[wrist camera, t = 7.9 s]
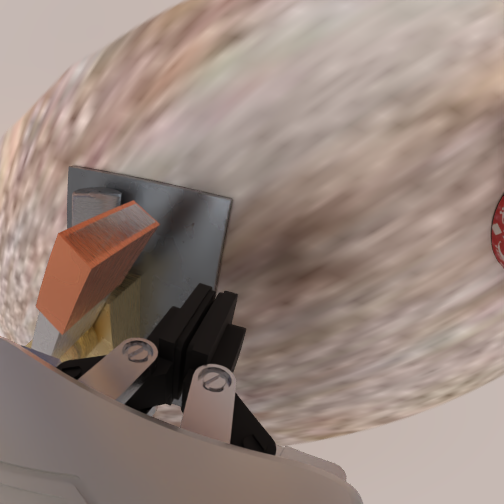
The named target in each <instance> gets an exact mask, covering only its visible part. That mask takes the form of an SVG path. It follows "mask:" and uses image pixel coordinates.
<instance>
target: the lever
mask: <svg viewBox="0 0 504 504" xmlns="http://www.w3.org/2000/svg"><path fill="white" fill-rule="evenodd" d="M159 225H160V224H159V223H158V222H157V221H156V220H155V219H154V218H153V217H151V216H150V215H149V214H148V213H147V212H146V211H145V210H144V209H143V208H142V207H140V206H139V205H138V204H137V203H136V202H135V201H134V200H133V201H130V202H128V203H126V204H123V205H121V206H118V207H116V208H114V209H111V210H109V211H107V212H104V213H102V214H100V215H97V216H95V217H93V218H91V219H88V220H86V221H84V222H82V223H80V224H77V225H75V226H73V227H71V228H69V229H67V230H65V231H63V232H60V233H58V235H57V238H56V241H55V244H54V247H53V249H52V252H51V255H50V258H49V262H48V265H47V268H46V271H45V274H44V278H43V281H42V285H41V288H40V292H39V296H38V300H37V304H36V307H37V308H38V310H39V311H40V312H39V316H38V320H37V324H36V328H35V332H34V337H33V340H31V341H30V342H29V343H28V344H27V345H26V347H28V348H31V349H33V350H36V351H39V352H41V353H44V354H47V355H50V356H53V357H56V358H59V359H60V360H61V362H64V361H68V360H74V359H81V358H86V357H87V356H88V355H89V354H90V353H91V351H92V350H93V349H94V348H95V347H96V346H97V343H98V340H97V335H96V332H95V330H94V328H93V327H92V325H93V324H94V322H95V320H96V318H97V316H98V315H99V313H100V311H101V309H102V307H103V306H104V304H105V302H106V300H107V299H108V297H109V295H110V293H111V292H112V291H113V290H114V289H115V288H116V287H118V286H119V285H120V284H121V283H122V282H123V280H124V278H125V277H126V275H127V274H128V272H129V270H130V269H131V267H132V266H133V264H134V263H135V261H136V260H137V258H138V256H139V255H140V253H141V252H142V250H143V249H144V247H145V246H146V244H147V243H148V241H149V240H150V238H151V237H152V235H153V234H154V232H155V231H156V230H157V228H158V227H159Z"/></svg>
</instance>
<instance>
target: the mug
mask: <svg viewBox="0 0 504 504" xmlns="http://www.w3.org/2000/svg"><path fill="white" fill-rule="evenodd" d="M492 247H493V251H494V254H495V256H496V258H497V260H498V262H499V263H500V264H501V265H502V266H503V268H504V196H503V197H502V199H501V201H500V202H499V204H498V207H497V209H496V212H495V215H494V220H493V225H492Z"/></svg>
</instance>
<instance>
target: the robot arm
mask: <svg viewBox="0 0 504 504" xmlns="http://www.w3.org/2000/svg"><path fill="white" fill-rule="evenodd" d="M215 296H216V291H213V290H212V286H208V285H205V284H202V283H199V284H198V285H197V287H196V288H195V289H194V291H193V292H192V293H191V295H190V296H189V297H188V299H187V300H186V301H185V303H184V304H183V305H182V307H181V308H178V307H176V306H172V307H171V308H170V309H169V311H168V312H167V313H166V314H165V316H164V317H163V318H162V319H161V321H160V322H159V323H158V325H157V326H156V327H155V328H154V330H153V331H152V332H151V333H150V335H149V336H148V337H147V339H144V338H130V339H127V340H125V341H123V342H122V343H121V344H119V345H118V346H117V347H116V348H115V349H113V350H112V351H111V352H110V353H109V354H108V355H102V356H96V357H89V358H81V359H74V360H68V361H64V362H61V360H60V359H59V358H56V357H53V356H50V355H47V354H44V353H41V352H39V351H36V350H33V349H31V348H28V347H26V346H21V345H18V344H16V343H15V342H13V341H11V340H9V339H6V338H4V337H1V336H0V504H363V502H362V499H361V497H360V495H359V493H358V491H357V490H356V489H355V488H354V487H353V486H351V485H350V484H349V483H347V482H346V474H345V472H344V470H343V469H342V468H341V467H340V466H339V465H336V464H335V463H332V462H329V461H326V460H323V459H320V458H317V457H315V456H311V455H309V454H306V453H304V452H301V451H298V450H296V449H293V448H291V447H288V446H285V448H284V447H281V446H279V445H276V444H275V442H274V440H273V439H272V437H271V436H270V435H269V434H268V433H267V431H266V430H265V429H264V428H263V427H262V425H261V424H260V423H259V422H258V420H257V419H256V418H255V417H254V416H253V414H252V413H251V412H250V411H249V409H248V408H247V407H246V405H245V404H244V403H243V402H242V400H241V399H240V398H239V396H238V395H237V394H236V393H235V391H236V378H235V376H234V374H233V372H234V369H235V366H236V363H237V360H238V357H239V354H240V350H241V347H242V344H243V340H244V336H245V332H246V328H243V327H239V326H236V325H232V319H233V315H234V310H235V306H236V302H237V297H238V294H235V293H232V292H229V291H224V293H220V292H219V294H218V295H217V297H216V299H215ZM181 394H182V403H181V410H182V412H183V417H182V421H181V425H180V428H179V427H177V426H174V425H171V424H169V423H166V422H164V421H161V420H159V419H156V418H154V417H152V416H153V414H154V413H155V412H156V410H157V408H158V405H162V404H165V403H166V404H168V405H171V404H172V402H173V400H174V399H176V400H179V398H180V396H181Z"/></svg>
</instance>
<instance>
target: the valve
mask: <svg viewBox="0 0 504 504" xmlns="http://www.w3.org/2000/svg"><path fill="white" fill-rule="evenodd" d="M133 200H134V201H135V202H136V203H137V204H138V205H139V206H140V207H142V208H143V209H144V210H145V211H146V212H147V213H148V214H149V215H150V216H151V217H153V218H154V219H155V220H156V221H157V222H158V223H159V224H160V225H159V227H158V228H157V230H156V231H155V232H154V234H153V235H152V237H151V238H150V240H149V241H148V243H147V244H146V246H145V247H144V249H143V250H142V252H141V253H140V255H139V256H138V258H137V260H136V261H135V263H134V264H133V266H132V267H131V269H130V270H129V272H128V274H127V275H126V277H125V278H124V280H123V282H122V283H121V284H120V285H119V286H118V287H116V288H115V289H114V290H113V291H112V292H111V293H110V295H109V297H108V299H107V300H106V302H105V304H104V306H103V307H102V309H101V311H100V313H99V315H98V316H97V318H96V320H95V322H94V324H93V325H92V327H93V328H94V330H95V332H96V335H97V340H98V343H97V346H96V347H95V348H94V349H93V350H92V351H91V353H90V354H89V355H88V356H87V357H86V358H89V357H96V356H102V355H108V354H109V353H110V352H111V351H112V350H113V349H115V348H116V347H117V346H118V345H119V344H121V343H122V342H123V341H125V340H127V339H130V338H144V339H147V337H148V336H149V335H150V333H151V332H152V331H153V330H154V328H155V327H156V326H157V325H158V323H159V322H160V321H161V319H162V318H163V317H164V316H165V314H166V313H167V312H168V311H169V309H170V308H171V307H172V306H176V307H178V308H181V307H182V305H183V304H184V303H185V301H186V300H187V299H188V297H189V296H190V295H191V293H192V292H193V291H194V289H195V288H196V287H197V285H198V284H199V283H202V284H205V285H208V286H212V290H213V291H215V289H216V283H217V277H218V272H219V266H220V261H221V256H222V250H223V245H224V240H225V234H226V229H227V224H228V219H229V214H230V209H231V203H232V198H228V197H224V196H219V195H215V194H211V193H207V192H202V191H198V190H193V189H189V188H185V187H180V186H175V185H171V184H166V183H161V182H157V181H152V180H147V179H142V178H137V177H132V176H127V175H122V174H117V173H111V172H106V171H101V170H95V169H90V168H84V167H78V166H70V167H69V171H68V195H67V229H69V228H71V227H73V226H75V225H77V224H80V223H82V222H84V221H86V220H88V219H91V218H93V217H95V216H97V215H100V214H102V213H104V212H107V211H109V210H111V209H114V208H116V207H118V206H121V205H123V204H126V203H128V202H130V201H133ZM181 403H182V394H181V396H180V398H179V400H176V399H174V400H173V402H172V404H175V405H178V406H180V407H181Z"/></svg>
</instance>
